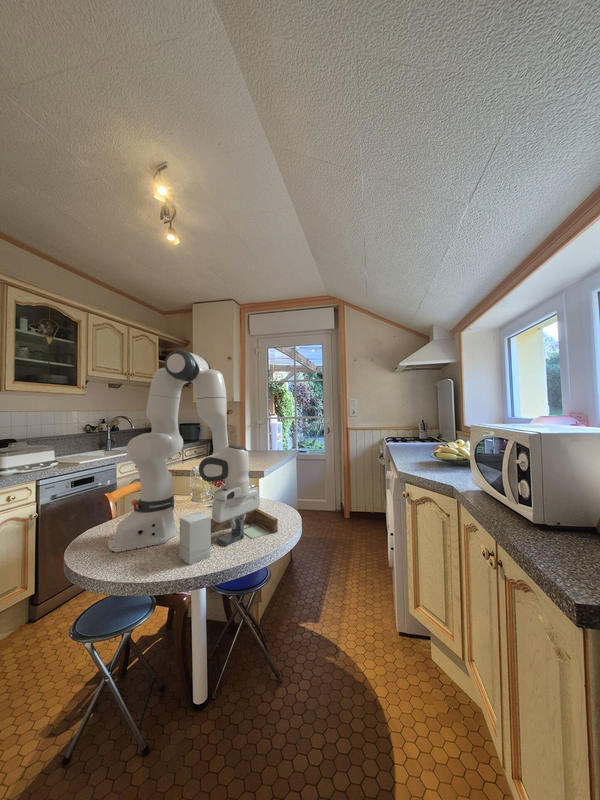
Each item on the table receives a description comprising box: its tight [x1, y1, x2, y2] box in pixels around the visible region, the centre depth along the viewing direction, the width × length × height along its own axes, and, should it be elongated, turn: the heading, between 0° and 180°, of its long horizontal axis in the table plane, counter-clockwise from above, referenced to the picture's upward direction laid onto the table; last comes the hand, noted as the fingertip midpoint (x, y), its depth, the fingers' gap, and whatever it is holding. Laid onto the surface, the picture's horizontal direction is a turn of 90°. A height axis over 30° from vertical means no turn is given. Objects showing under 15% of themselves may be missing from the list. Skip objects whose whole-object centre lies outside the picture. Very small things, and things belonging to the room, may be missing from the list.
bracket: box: [216, 517, 245, 547], centre depth 104 cm, size 8×5×7 cm, turn 143°
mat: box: [244, 524, 269, 540], centre depth 111 cm, size 7×10×1 cm
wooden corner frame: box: [211, 508, 279, 534], centre depth 111 cm, size 22×17×5 cm
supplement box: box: [179, 511, 212, 565], centre depth 92 cm, size 7×7×13 cm
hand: (237, 527), depth 107 cm, fingers closed on bracket
